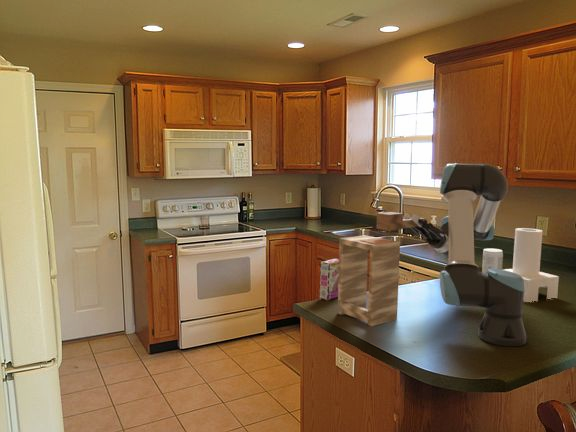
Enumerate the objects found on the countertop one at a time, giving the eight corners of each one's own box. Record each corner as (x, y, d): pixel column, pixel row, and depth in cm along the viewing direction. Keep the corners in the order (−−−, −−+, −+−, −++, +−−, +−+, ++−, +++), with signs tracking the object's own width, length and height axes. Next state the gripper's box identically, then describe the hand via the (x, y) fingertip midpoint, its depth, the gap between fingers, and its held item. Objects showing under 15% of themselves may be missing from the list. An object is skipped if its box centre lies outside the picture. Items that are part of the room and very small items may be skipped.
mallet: (416, 224, 198) (417, 209, 197) (428, 226, 193) (429, 211, 192) (376, 228, 184) (377, 213, 183) (388, 230, 179) (389, 214, 178)
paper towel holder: (492, 291, 223) (496, 228, 219) (521, 287, 230) (526, 226, 227) (526, 302, 206) (531, 234, 202) (557, 298, 213) (562, 231, 210)
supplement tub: (496, 275, 254) (498, 248, 252) (505, 280, 245) (507, 251, 243) (478, 275, 254) (480, 248, 252) (486, 279, 244) (488, 251, 243)
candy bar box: (328, 301, 205) (329, 263, 203) (319, 299, 208) (319, 261, 206) (342, 295, 213) (343, 259, 211) (333, 293, 216) (334, 257, 214)
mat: (394, 241, 179) (394, 240, 179) (376, 244, 173) (376, 243, 173) (378, 238, 185) (378, 237, 185) (360, 241, 179) (360, 240, 179)
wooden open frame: (396, 319, 183) (400, 241, 179) (371, 326, 174) (374, 245, 171) (362, 307, 197) (364, 235, 193) (337, 313, 188) (339, 238, 185)
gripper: (452, 251, 196) (422, 227, 182) (419, 245, 209) (389, 222, 196) (458, 235, 197) (429, 209, 184) (425, 230, 211) (396, 205, 197)
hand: (408, 216), depth 190 cm, fingers closed on mallet, 3 cm apart
